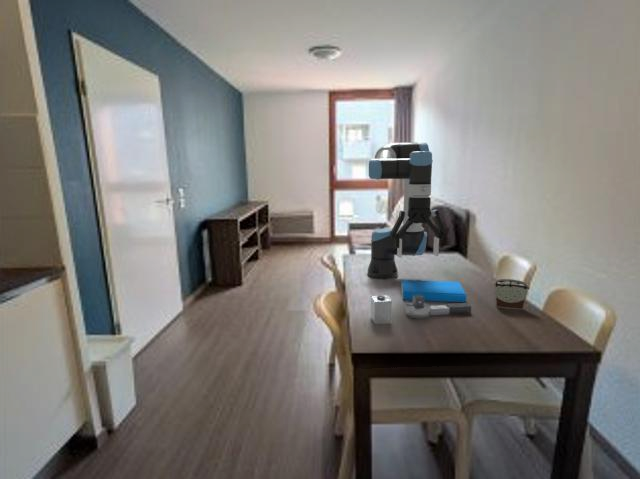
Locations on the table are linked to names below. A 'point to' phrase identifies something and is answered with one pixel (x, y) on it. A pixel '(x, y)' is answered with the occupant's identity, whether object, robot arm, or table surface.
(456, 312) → the ratchet
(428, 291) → the book
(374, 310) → the grey block with knob
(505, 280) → the food container
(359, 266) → the table surface
